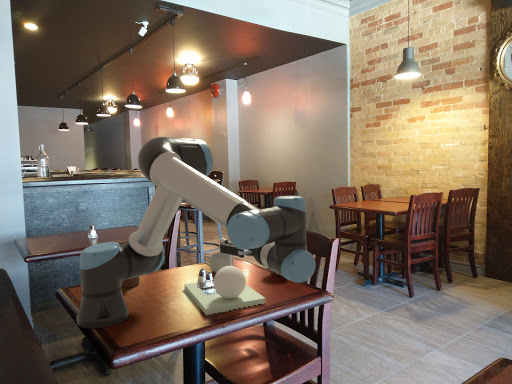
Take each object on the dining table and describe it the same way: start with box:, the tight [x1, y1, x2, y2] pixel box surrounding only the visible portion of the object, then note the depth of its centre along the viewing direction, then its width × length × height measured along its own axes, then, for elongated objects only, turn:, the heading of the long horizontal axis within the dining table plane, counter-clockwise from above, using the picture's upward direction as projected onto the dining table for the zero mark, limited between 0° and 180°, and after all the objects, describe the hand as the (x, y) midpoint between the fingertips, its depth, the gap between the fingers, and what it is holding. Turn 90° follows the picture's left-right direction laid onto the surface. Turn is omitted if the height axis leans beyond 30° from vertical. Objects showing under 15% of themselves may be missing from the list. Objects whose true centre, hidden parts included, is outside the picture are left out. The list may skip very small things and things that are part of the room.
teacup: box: [202, 251, 235, 274], centre depth 168 cm, size 14×11×8 cm
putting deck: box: [183, 238, 266, 316], centre depth 135 cm, size 28×21×18 cm
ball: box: [213, 265, 247, 299], centre depth 128 cm, size 11×11×11 cm
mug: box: [121, 276, 140, 289], centre depth 149 cm, size 12×8×9 cm, turn 26°
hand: (240, 240), depth 117 cm, fingers open, 12 cm apart
